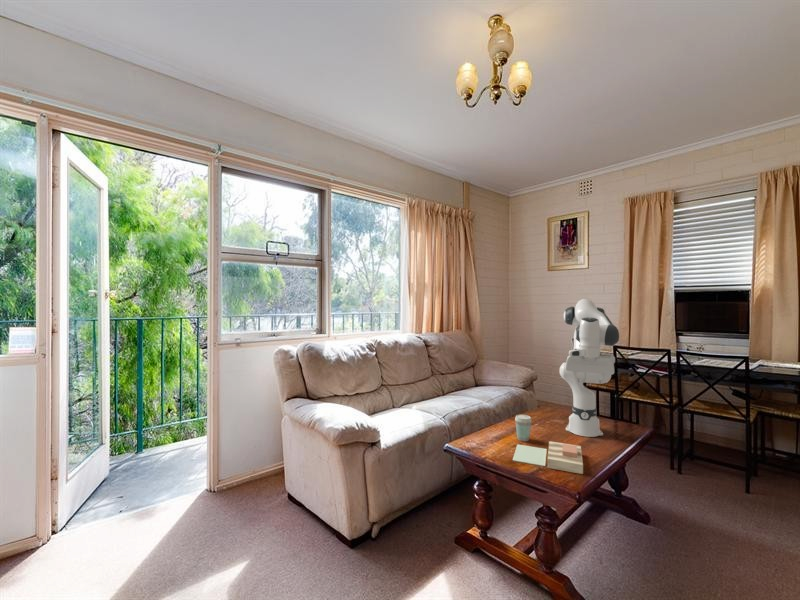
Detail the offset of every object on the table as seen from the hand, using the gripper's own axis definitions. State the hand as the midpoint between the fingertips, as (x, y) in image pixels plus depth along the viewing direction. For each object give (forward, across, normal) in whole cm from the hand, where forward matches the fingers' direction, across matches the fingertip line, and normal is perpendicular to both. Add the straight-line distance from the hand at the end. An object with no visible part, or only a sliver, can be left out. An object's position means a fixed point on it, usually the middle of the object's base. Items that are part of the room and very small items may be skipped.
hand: (589, 382), depth 172 cm
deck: (+36, +10, +6) cm, 38 cm away
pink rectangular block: (+32, +8, +6) cm, 33 cm away
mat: (+36, +25, +6) cm, 44 cm away
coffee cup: (+36, +30, -13) cm, 48 cm away
